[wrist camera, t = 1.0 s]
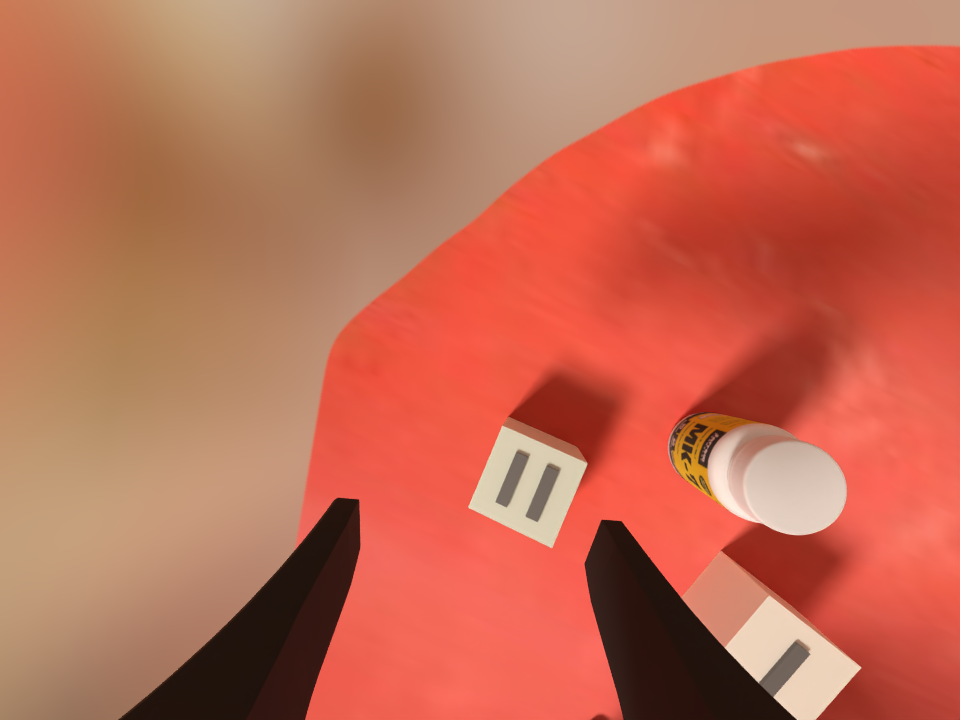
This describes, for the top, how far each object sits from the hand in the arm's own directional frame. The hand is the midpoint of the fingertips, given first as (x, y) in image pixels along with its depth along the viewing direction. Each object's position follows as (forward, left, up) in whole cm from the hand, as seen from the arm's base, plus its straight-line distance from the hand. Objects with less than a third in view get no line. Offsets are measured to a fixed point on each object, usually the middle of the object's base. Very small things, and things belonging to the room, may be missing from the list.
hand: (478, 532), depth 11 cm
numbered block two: (-2, 0, -15) cm, 15 cm away
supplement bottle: (-10, -8, -15) cm, 19 cm away
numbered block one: (-17, -1, -15) cm, 22 cm away
